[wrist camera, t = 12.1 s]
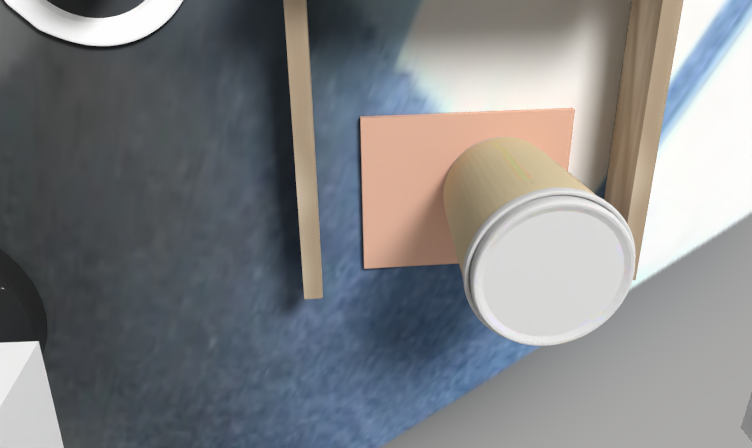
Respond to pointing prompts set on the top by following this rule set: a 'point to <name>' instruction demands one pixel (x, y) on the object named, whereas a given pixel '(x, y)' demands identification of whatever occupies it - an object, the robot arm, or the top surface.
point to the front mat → (434, 174)
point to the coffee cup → (535, 244)
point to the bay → (629, 143)
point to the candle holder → (97, 21)
